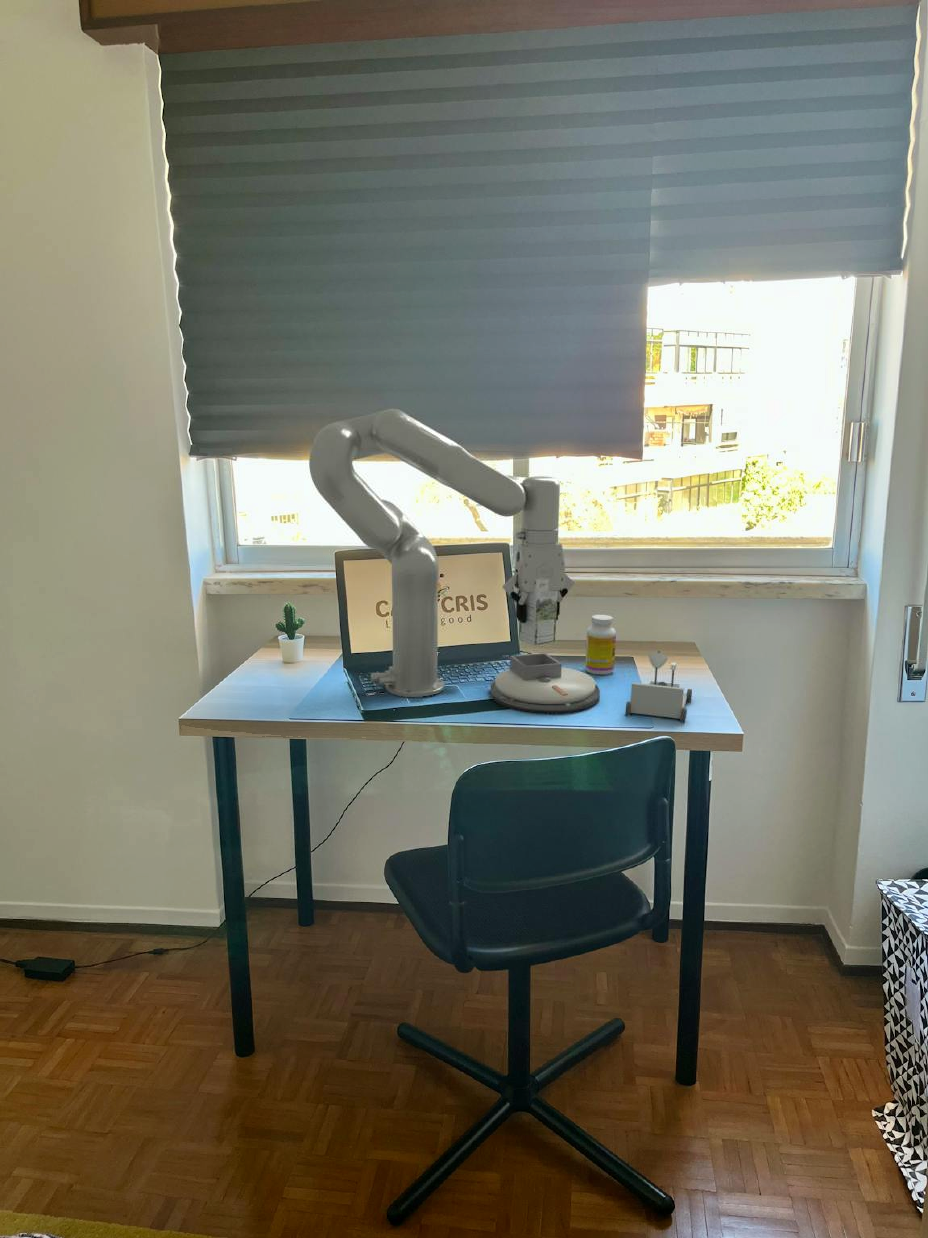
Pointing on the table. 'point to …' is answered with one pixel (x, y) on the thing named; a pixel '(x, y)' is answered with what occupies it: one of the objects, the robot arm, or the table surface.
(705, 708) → the table surface
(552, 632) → the syrup box
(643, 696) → the toy vehicle
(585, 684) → the dial
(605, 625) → the supplement bottle
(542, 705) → the base
